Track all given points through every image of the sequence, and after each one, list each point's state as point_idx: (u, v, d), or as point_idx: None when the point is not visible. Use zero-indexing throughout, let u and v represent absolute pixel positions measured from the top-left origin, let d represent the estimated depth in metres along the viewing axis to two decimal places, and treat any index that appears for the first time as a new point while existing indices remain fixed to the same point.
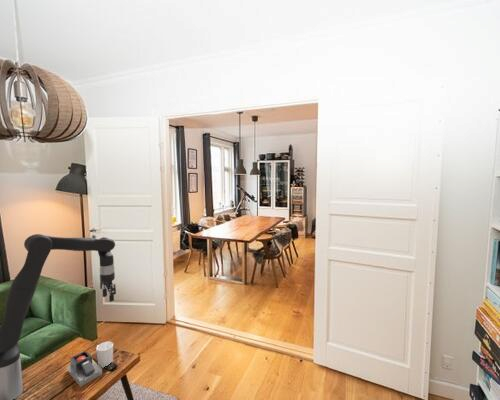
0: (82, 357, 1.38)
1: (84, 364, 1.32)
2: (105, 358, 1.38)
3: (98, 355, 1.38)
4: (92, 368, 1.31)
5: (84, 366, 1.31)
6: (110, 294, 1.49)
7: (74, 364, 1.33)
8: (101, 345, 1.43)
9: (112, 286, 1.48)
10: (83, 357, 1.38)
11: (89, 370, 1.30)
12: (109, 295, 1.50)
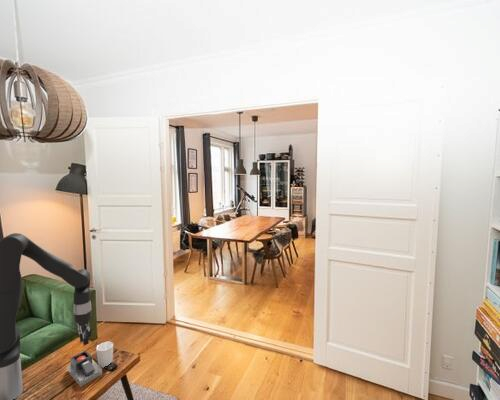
0: (82, 357, 1.38)
1: (84, 364, 1.32)
2: (105, 358, 1.38)
3: (98, 355, 1.38)
4: (92, 368, 1.31)
5: (84, 366, 1.31)
6: None
7: (74, 364, 1.33)
8: (101, 345, 1.43)
9: (88, 331, 1.27)
10: (83, 357, 1.38)
11: (89, 370, 1.30)
12: (83, 338, 1.30)
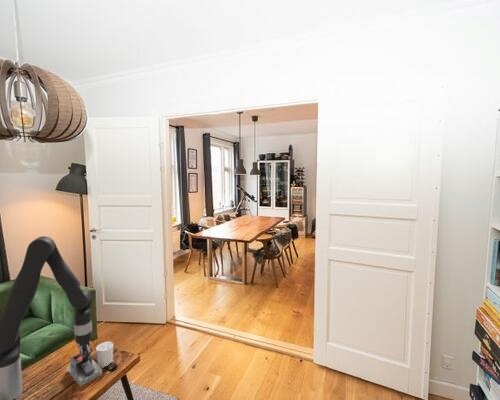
0: None
1: (84, 364, 1.32)
2: (105, 358, 1.38)
3: (98, 355, 1.38)
4: (92, 368, 1.31)
5: (84, 366, 1.31)
6: None
7: (74, 364, 1.33)
8: (101, 345, 1.43)
9: (88, 352, 1.29)
10: None
11: (89, 370, 1.30)
12: (82, 356, 1.32)
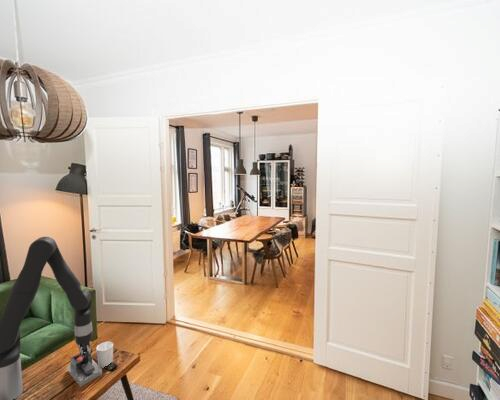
0: None
1: (84, 365, 1.32)
2: (105, 358, 1.38)
3: (98, 355, 1.38)
4: (92, 367, 1.31)
5: (84, 366, 1.31)
6: None
7: (74, 364, 1.33)
8: (101, 345, 1.43)
9: (88, 353, 1.29)
10: None
11: (89, 369, 1.30)
12: (83, 357, 1.32)
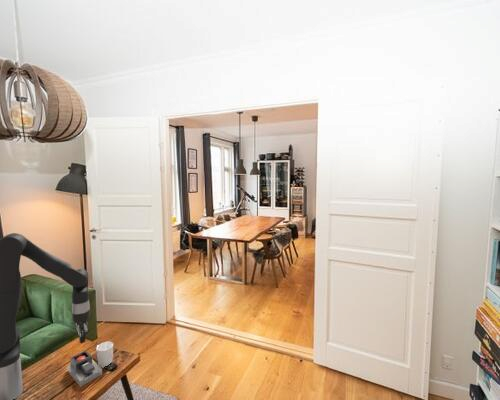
0: (82, 357, 1.38)
1: (84, 365, 1.32)
2: (105, 358, 1.38)
3: (98, 355, 1.38)
4: (92, 366, 1.31)
5: (84, 366, 1.31)
6: None
7: (74, 364, 1.33)
8: (101, 345, 1.43)
9: (85, 331, 1.29)
10: (83, 357, 1.38)
11: (89, 368, 1.30)
12: (80, 336, 1.32)
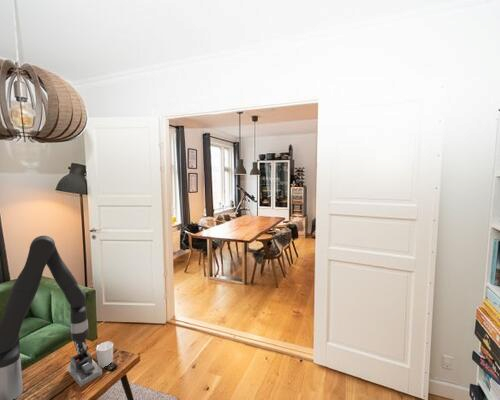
0: None
1: (84, 365, 1.32)
2: (105, 358, 1.38)
3: (98, 355, 1.38)
4: (92, 366, 1.31)
5: (84, 366, 1.31)
6: None
7: (74, 364, 1.33)
8: (101, 345, 1.43)
9: (84, 350, 1.32)
10: None
11: (89, 368, 1.30)
12: (79, 354, 1.36)
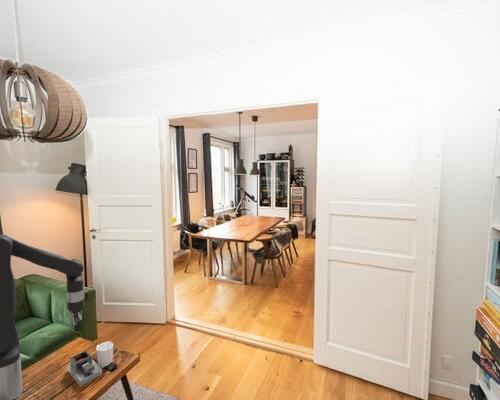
0: (82, 359, 1.38)
1: (84, 365, 1.32)
2: (105, 358, 1.38)
3: (98, 355, 1.38)
4: (92, 366, 1.31)
5: (84, 366, 1.31)
6: None
7: (74, 364, 1.33)
8: (101, 345, 1.43)
9: (79, 319, 1.31)
10: None
11: (89, 368, 1.30)
12: (74, 324, 1.35)
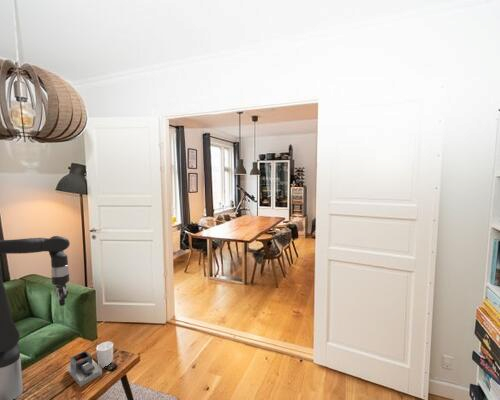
0: (82, 359, 1.38)
1: (84, 365, 1.32)
2: (105, 358, 1.38)
3: (98, 355, 1.38)
4: (92, 366, 1.31)
5: (84, 366, 1.31)
6: None
7: (74, 364, 1.33)
8: (101, 345, 1.43)
9: (64, 293, 1.35)
10: None
11: (89, 368, 1.30)
12: (59, 299, 1.39)
